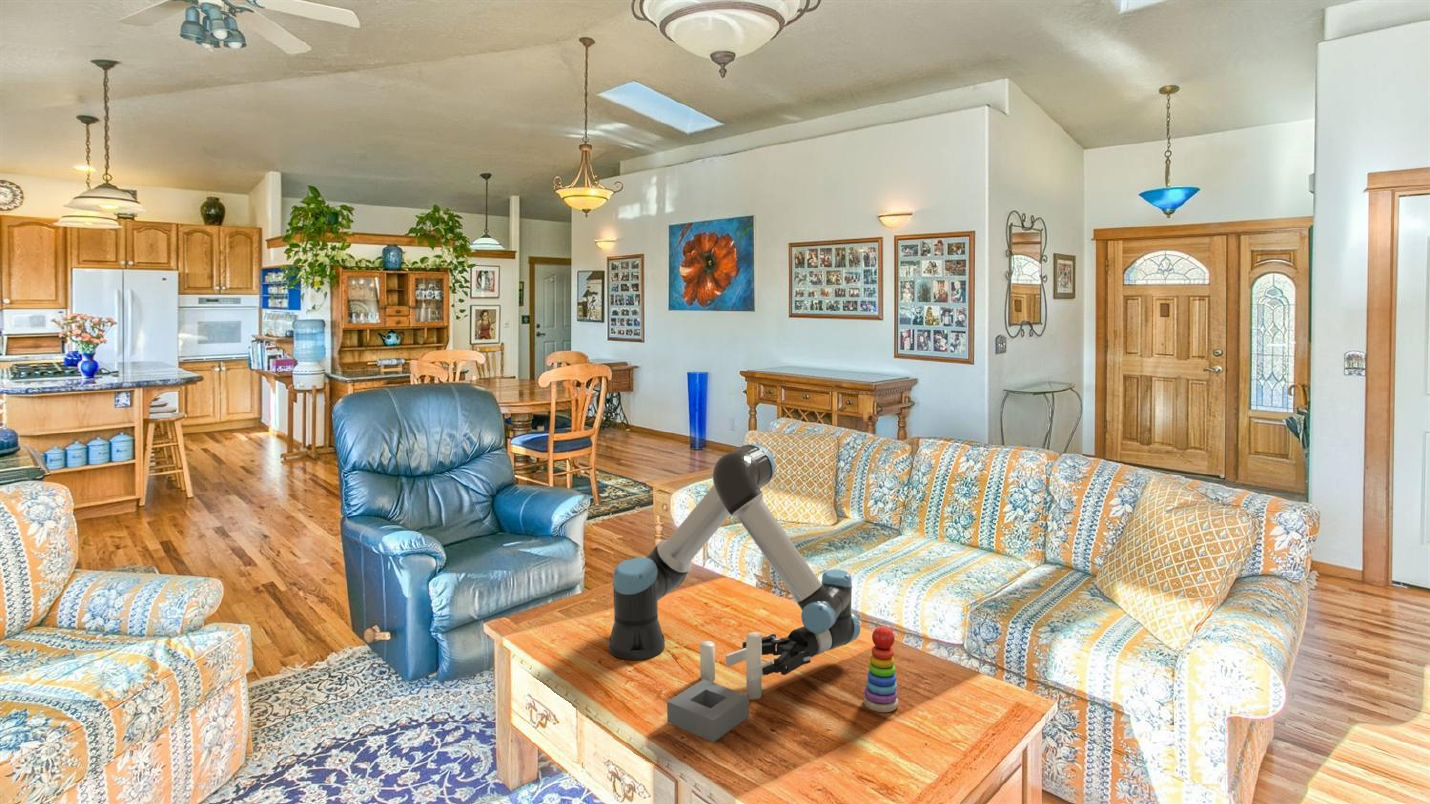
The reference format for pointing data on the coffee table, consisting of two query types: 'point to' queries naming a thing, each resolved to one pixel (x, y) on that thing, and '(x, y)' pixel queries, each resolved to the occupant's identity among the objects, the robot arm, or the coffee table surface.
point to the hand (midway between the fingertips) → (738, 667)
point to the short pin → (707, 660)
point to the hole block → (708, 710)
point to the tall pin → (753, 664)
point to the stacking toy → (881, 673)
